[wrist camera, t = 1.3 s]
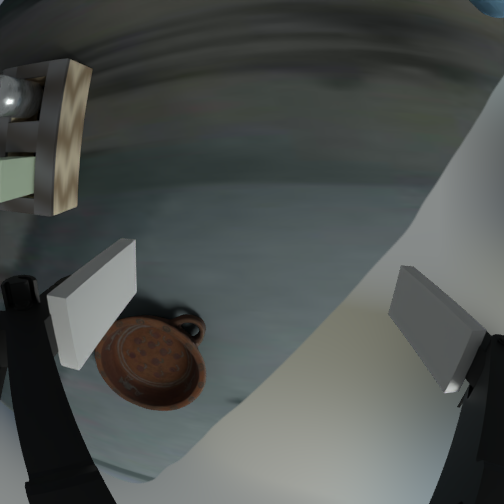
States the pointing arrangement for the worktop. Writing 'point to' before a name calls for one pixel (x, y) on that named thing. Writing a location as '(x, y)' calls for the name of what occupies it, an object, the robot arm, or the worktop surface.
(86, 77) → the socket block
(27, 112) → the metal peg
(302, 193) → the worktop surface
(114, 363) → the dish
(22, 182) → the sage peg
